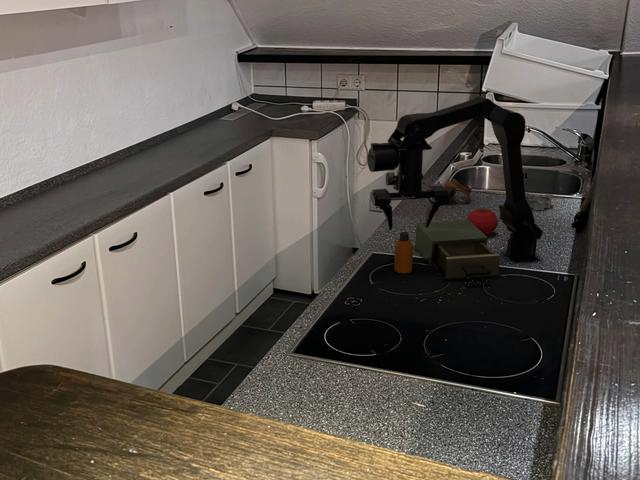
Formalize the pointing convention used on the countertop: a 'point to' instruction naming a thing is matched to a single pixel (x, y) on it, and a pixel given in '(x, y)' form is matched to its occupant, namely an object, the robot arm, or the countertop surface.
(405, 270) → the bottle
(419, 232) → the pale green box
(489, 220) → the tomato
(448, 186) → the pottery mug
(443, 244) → the drawer
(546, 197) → the egg carton
